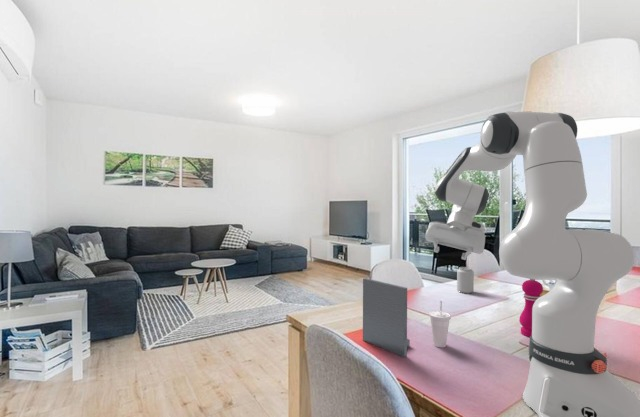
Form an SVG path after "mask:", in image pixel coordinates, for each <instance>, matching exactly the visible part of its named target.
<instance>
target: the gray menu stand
mask: <svg viewBox="0 0 640 417" xmlns="http://www.w3.org/2000/svg"><path fill="white" fill-rule="evenodd" d="M362 341H364V342H365V343H369V344H371V345H373V346H375V347H378V348H380V349H383V350H384V351H386V352H387V351H388V352H389V353H393V354H394V355H396V356H398V357H402V358H406V357H407V356H408V353H407V352H408V348H409V347H410V346H411V345H410V344H411V343H410V341H411V340H410V339H409V338H408V287H405V286H401V285H397V284H392V283H388V282H383V281H379V280H375V279H371V278H367V277H365V278H363V279H362Z"/></svg>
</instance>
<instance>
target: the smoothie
mask: <svg viewBox="0 0 640 417" xmlns="http://www.w3.org/2000/svg"><path fill="white" fill-rule="evenodd" d="M428 317H429V319H430V327H431V335H432V337H431V338H432V343H433V346H435V347H437V348H445V347H447V340H448V333H449V325H450V320H451V315H450V313H448V312H446V311H443V300H439V310H434V311H433V310H432V311H430V312H429V313H428Z"/></svg>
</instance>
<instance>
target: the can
mask: <svg viewBox="0 0 640 417" xmlns="http://www.w3.org/2000/svg"><path fill="white" fill-rule="evenodd" d="M456 272H457V273H456V290H457V291H458V292H459V291H460V292H459V293H461V292H463V293H462V294H472V293H473V292H474V288H475V286H474V278H475V277H474V276H475V272H474V270H473V268H472V267H469V266H459V267H458V269H457V270H456Z"/></svg>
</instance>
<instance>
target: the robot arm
mask: <svg viewBox="0 0 640 417" xmlns="http://www.w3.org/2000/svg"><path fill="white" fill-rule="evenodd" d="M577 136H578V125H577V122H576V120H575V119H574V117H573V116H572V115H570V114H567V113H562V112H553V113H552V112H540V111H539V112H538V111H537V112H536V111H517V112H516V111H504V112H499V113H496V114H495V113H494V114H491V115H490V116H488V117H487V118H486V120H484V122H483V124H482V126H481V131H480V141H478V142H477V143H476V144H474V145H473V146H469V147H466V148H464V149H463V150H462V151H461V152H460V153H459V155H458V156H457V157H456V159H455V160H454V161H453V163H452V164H451V165H450V166H449V168H448V170H447V171H446V172H445V173H444V174H443V175H442V177H441V178H440V179H438V181H437V183H436V185H435V189H434V194H435V196H436V197H437V200H438V201H442V202H445V203H449V204H452V207H451V213H450V214H449V215H448V218H447V222H443V221H437V220H434V221H430V222H429V224H428V227H427V229H426V232H425V234H424V235H425V236H424V237H425V240H426V242H429V243H432V244H433V247H434V248H433V253H436V254H437V253H439V252H440V246H438V244H439V245H441V246H446V247H450V248H455V249H458V250H462V251H466V252H462V254H461V260H464V261H466V260H467V258H468V257H469V256H470V255H472V253H474V254H479V255H482V253H484V251H485V250H484V249H485V244H486V235H485V225H484V224H481V223H479V222H477V221H476V220H474V218H475V217H476V216H478V215H479V214H481V213H483V212H484V211H485V209H486V207H487V205H488V201H489V197H490V192H489V190H488V189H487V187H486V186H484V185H481V184H477V183H475V182H471V181H468V180H465V179H462V178H459V177H460V176H461V174H463V173H464V172H467V171H481V172H489V173H490V172H497V171H501V170H504V169H506V168H507V167H509V166H510V164H511V163H512V162H513V161H514V160H515V158H516V156H522V158H523V175H524V184H525V186H524V187H525V208H524V212H523V214H522V217H521V219H520V221H519V222H518V224H517V225H516V226H515V228H513V230H511V231H510V232H508V233H506V235H505V236H504V237H503V239H502V240H501V243H499V244H500V245H499V249H498V255H499V256H498V257H499V260H500V262H501V264H502V267H503V268H504V269H505V271H506V272H508V274H509V275H512V276H515V277H519V278H523V279H528V280H530V279H534V280H535V281H556V282H555V284H554V285H553V286H552V288H551V290H549V291H548V292H547V293H545V294H543V295H540V296H541V297H539V298H538V299H537V300H536V301H535V303H534V305H533V308H532V336H530V337H529V341H528V357H529V362H530V363H529V364H530V365H529V370H528V375H527V380H526V384H525V387H524V389H523V393H522V395H523V396H522V400H523V399H524V400H523V401H524V403H525V402H526V403H525V405H527V406H528V408H530V407H531V408H532V409H533V410H532V409H531V408H530V409H531V410H532V411H534V410H535V411H534V412H535V414H536V415H537V416H538V415H539V416H538V417H640V399H639V398H638V396H637V395H636V393H635V392H633V391H632V390H631V389H629V388H628V387H627V386H626V385H624V383H622V382H621V381H620V380H619V379H617V378H616V377H615V376H614V375H613V374H612V373H611V372H609V371H608V370H607V367H608V360H607V359H608V358H607V356H608V355H607V352H604V353H601V352H600V351H599V350H597V348H596V347H595V337H596V336H595V334H596V322H597V314H598V311H599V309H600V305H601V303H602V301H603V299H604V297H605V295H606V294H607V293H608V292H609V290H610V288H611V287H612V286H613V285H614V284H615V283H617V281H620V279H622V278H623V277H626V275H628V274H629V273H631V271H632V269H633V267H634V264H635V260H636V259H635V257H636V256H635V252H634V248H633V246H632V244H631V243H630V242H629V241H628V239H627V238H626V237H624V236H623V235H621V234H618V233H615V232H609V231H605V230H599V229H578V228H575V229H571V228H570V229H568V228H566V219H567V217H568V214H569V213H572V212H573V211H575V210H577V209H578V208H580V207H581V206H582V205H584V203H585V202H586V200H587V196H588V192H587V186H586V185H587V184H586V179H585V171H584V166H583V158H582V155H581V154H582V153H581V151H580V146H579V144H578V141H577Z"/></svg>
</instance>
